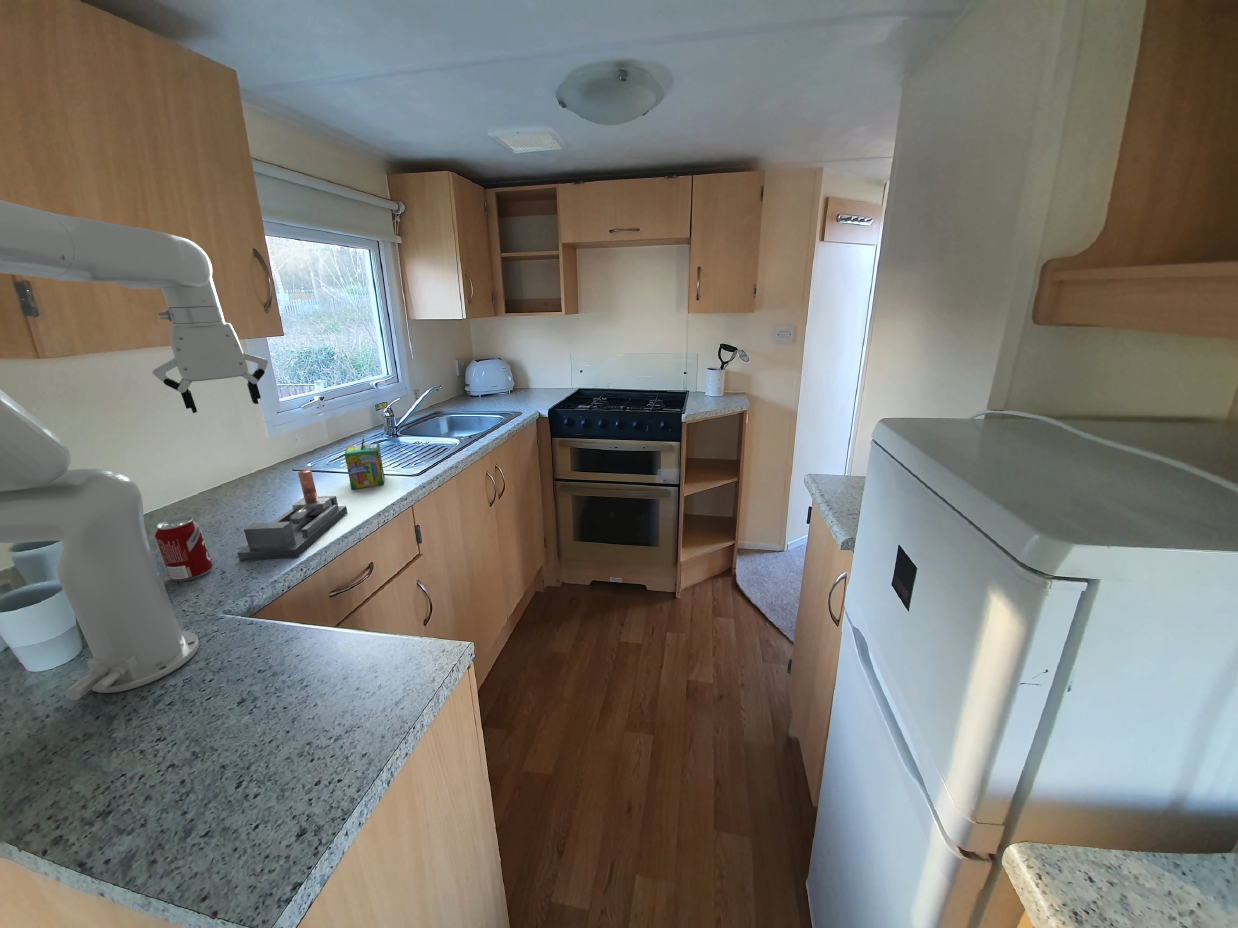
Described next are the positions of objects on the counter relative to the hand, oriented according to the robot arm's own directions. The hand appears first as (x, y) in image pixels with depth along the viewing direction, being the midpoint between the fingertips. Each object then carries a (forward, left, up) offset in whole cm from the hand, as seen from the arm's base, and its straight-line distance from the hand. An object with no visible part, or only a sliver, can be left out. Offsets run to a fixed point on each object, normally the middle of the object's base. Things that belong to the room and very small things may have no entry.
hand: (226, 407), depth 95 cm
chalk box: (+46, -3, -34) cm, 57 cm away
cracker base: (+11, -1, -34) cm, 35 cm away
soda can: (-6, +11, -34) cm, 36 cm away
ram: (+16, -1, -31) cm, 35 cm away
